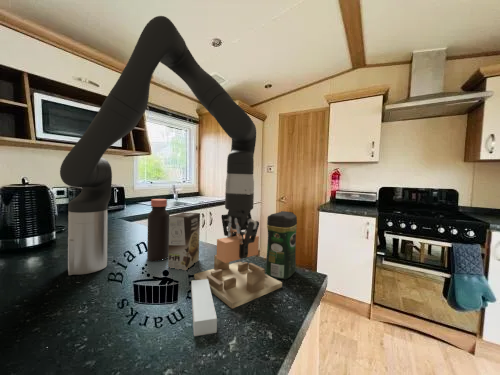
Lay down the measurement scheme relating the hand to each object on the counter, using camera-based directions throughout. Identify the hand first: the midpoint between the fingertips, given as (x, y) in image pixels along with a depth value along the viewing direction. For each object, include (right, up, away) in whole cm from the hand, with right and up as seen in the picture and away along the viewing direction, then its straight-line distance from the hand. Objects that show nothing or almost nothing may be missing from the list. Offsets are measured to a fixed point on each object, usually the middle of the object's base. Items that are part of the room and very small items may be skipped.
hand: (237, 255), depth 59 cm
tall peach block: (0, 0, 0) cm, 0 cm away
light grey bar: (-7, -8, -12) cm, 16 cm away
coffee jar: (+12, -8, +7) cm, 16 cm away
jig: (0, -8, 0) cm, 8 cm away
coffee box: (-18, -7, +12) cm, 22 cm away
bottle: (-28, -6, +16) cm, 33 cm away
